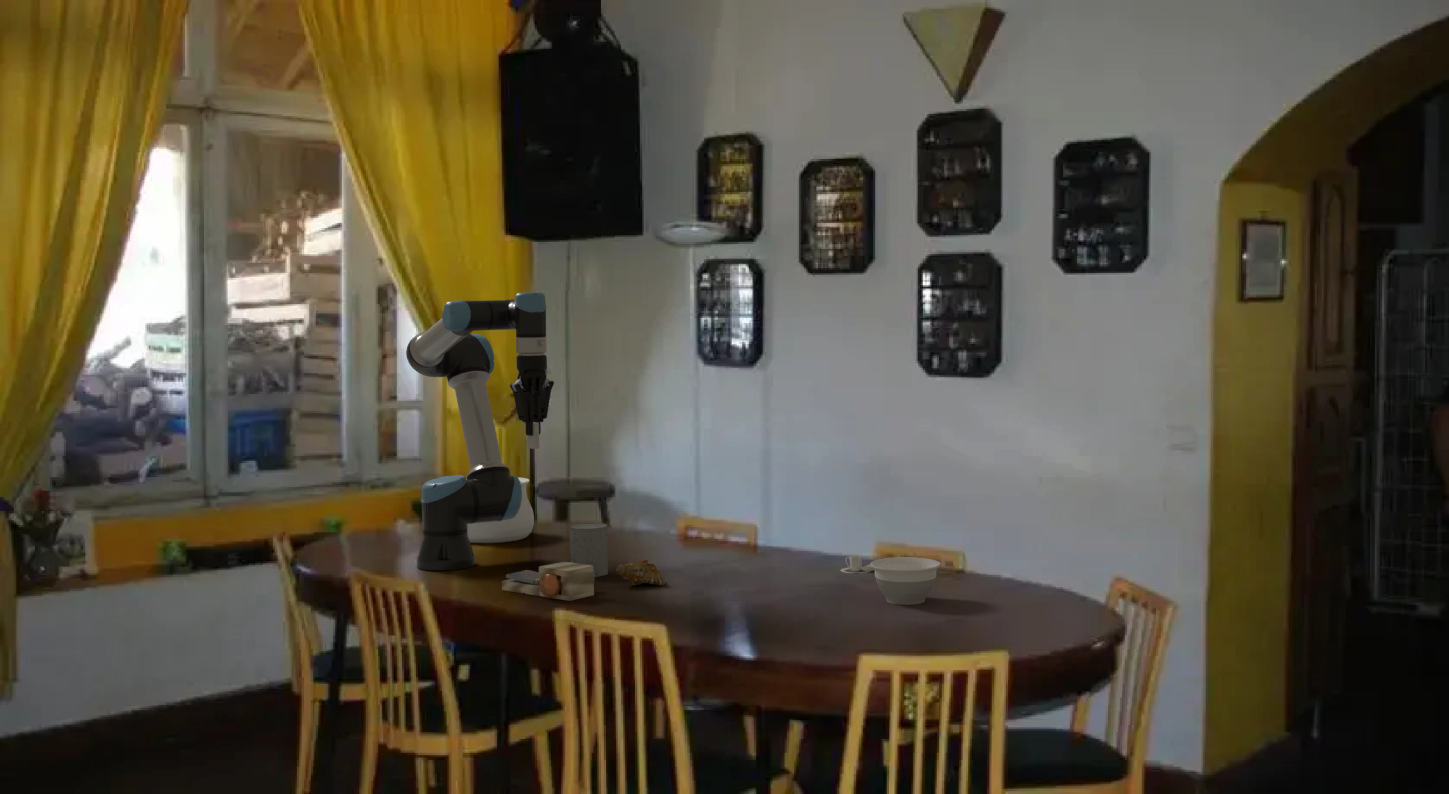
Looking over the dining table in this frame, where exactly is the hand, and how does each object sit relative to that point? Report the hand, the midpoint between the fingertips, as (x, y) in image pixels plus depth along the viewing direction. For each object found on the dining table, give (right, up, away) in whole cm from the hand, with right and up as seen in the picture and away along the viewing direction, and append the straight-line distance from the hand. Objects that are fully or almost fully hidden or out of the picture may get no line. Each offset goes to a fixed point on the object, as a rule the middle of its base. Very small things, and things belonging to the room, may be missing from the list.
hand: (533, 448), depth 365 cm
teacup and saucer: (+82, -32, -1) cm, 88 cm away
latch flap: (+2, -31, -15) cm, 35 cm away
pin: (+11, -33, -22) cm, 41 cm away
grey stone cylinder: (+14, -32, +5) cm, 35 cm away
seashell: (+28, -33, -12) cm, 45 cm away
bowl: (+89, -34, -36) cm, 102 cm away
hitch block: (+6, -34, -18) cm, 39 cm away
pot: (-20, -29, +64) cm, 74 cm away
